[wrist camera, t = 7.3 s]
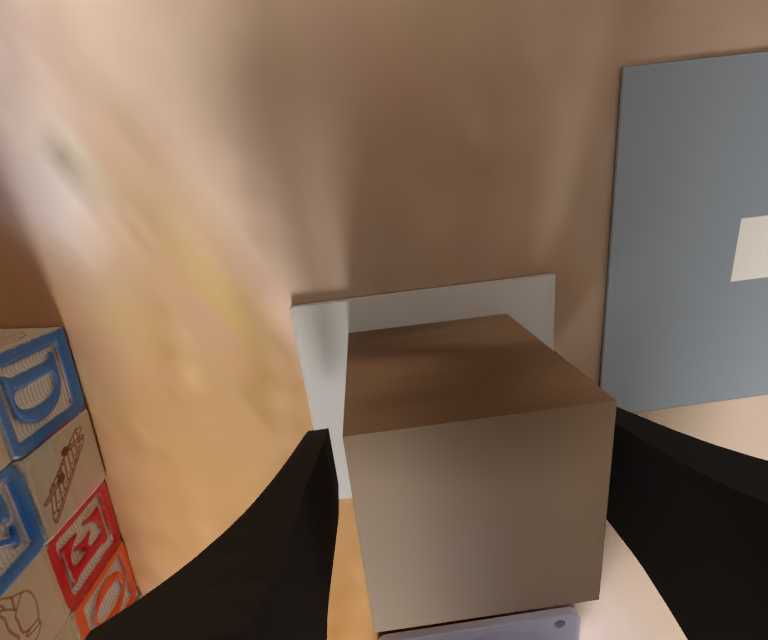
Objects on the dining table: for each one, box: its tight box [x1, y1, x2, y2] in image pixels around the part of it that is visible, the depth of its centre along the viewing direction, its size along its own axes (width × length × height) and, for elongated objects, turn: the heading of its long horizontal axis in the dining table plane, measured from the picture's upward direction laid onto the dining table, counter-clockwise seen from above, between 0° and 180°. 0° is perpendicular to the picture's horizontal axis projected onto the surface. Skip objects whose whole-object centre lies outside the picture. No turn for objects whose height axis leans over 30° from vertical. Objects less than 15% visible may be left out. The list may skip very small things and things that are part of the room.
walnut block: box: [342, 314, 617, 633], centre depth 11 cm, size 6×6×6 cm
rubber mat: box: [290, 273, 556, 499], centre depth 14 cm, size 9×8×1 cm
